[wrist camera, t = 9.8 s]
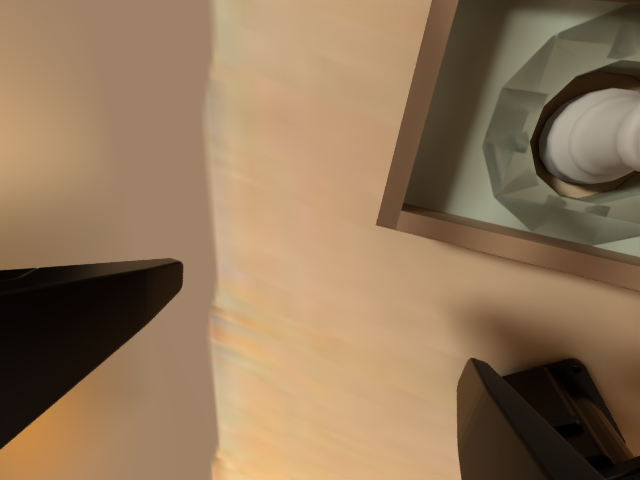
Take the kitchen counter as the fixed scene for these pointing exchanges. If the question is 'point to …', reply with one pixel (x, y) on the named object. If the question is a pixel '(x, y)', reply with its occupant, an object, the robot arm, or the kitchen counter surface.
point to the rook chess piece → (593, 137)
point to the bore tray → (511, 135)
